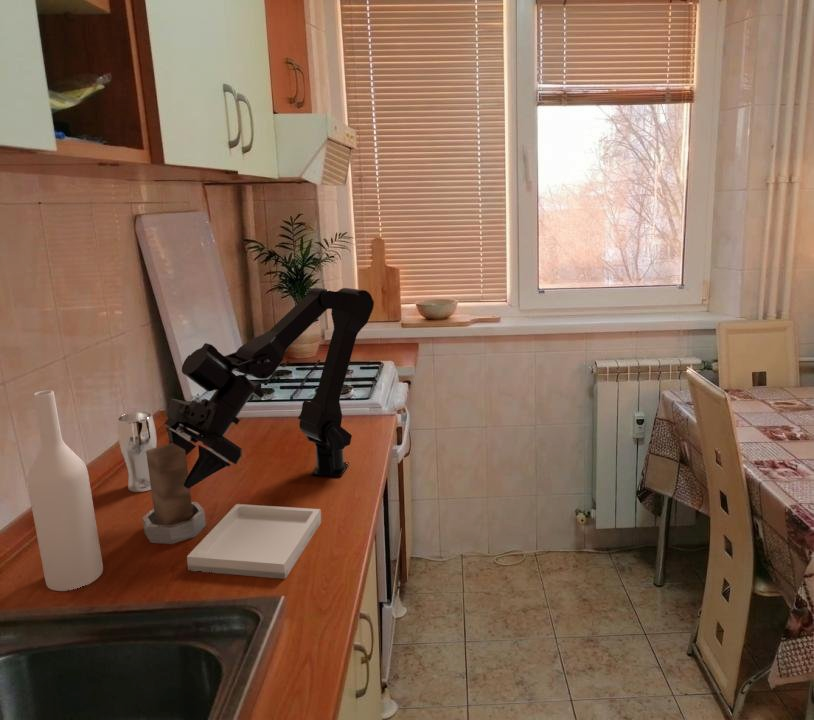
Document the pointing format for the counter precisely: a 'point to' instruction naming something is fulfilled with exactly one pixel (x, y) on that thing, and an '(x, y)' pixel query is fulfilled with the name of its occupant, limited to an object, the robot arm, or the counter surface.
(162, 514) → the walnut block
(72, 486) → the bottle
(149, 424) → the beer glass
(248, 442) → the counter surface
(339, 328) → the robot arm
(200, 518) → the grey octagonal ring
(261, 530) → the tray
